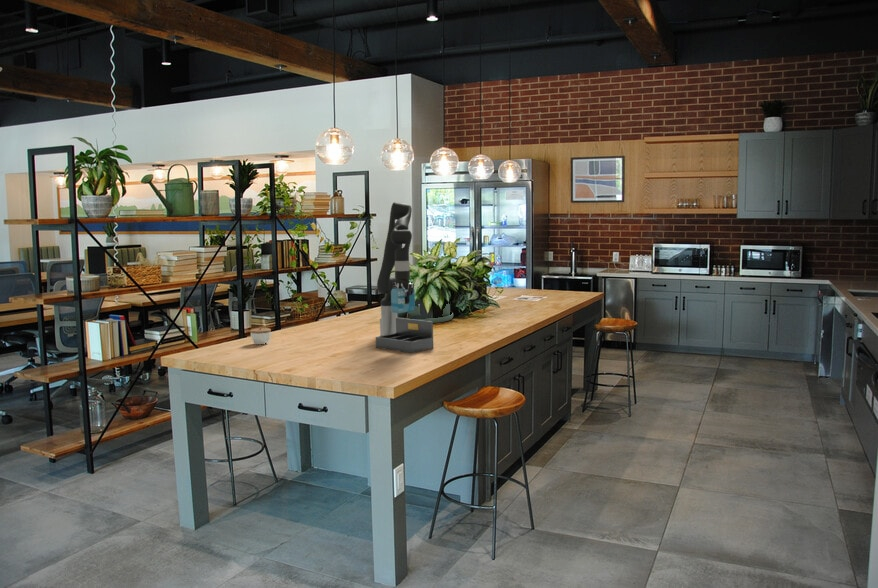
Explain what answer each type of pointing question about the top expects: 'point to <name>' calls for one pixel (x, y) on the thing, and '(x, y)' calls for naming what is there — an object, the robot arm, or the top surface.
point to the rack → (408, 336)
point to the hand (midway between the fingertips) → (403, 303)
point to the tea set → (416, 312)
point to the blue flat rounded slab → (401, 301)
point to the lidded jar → (260, 335)
